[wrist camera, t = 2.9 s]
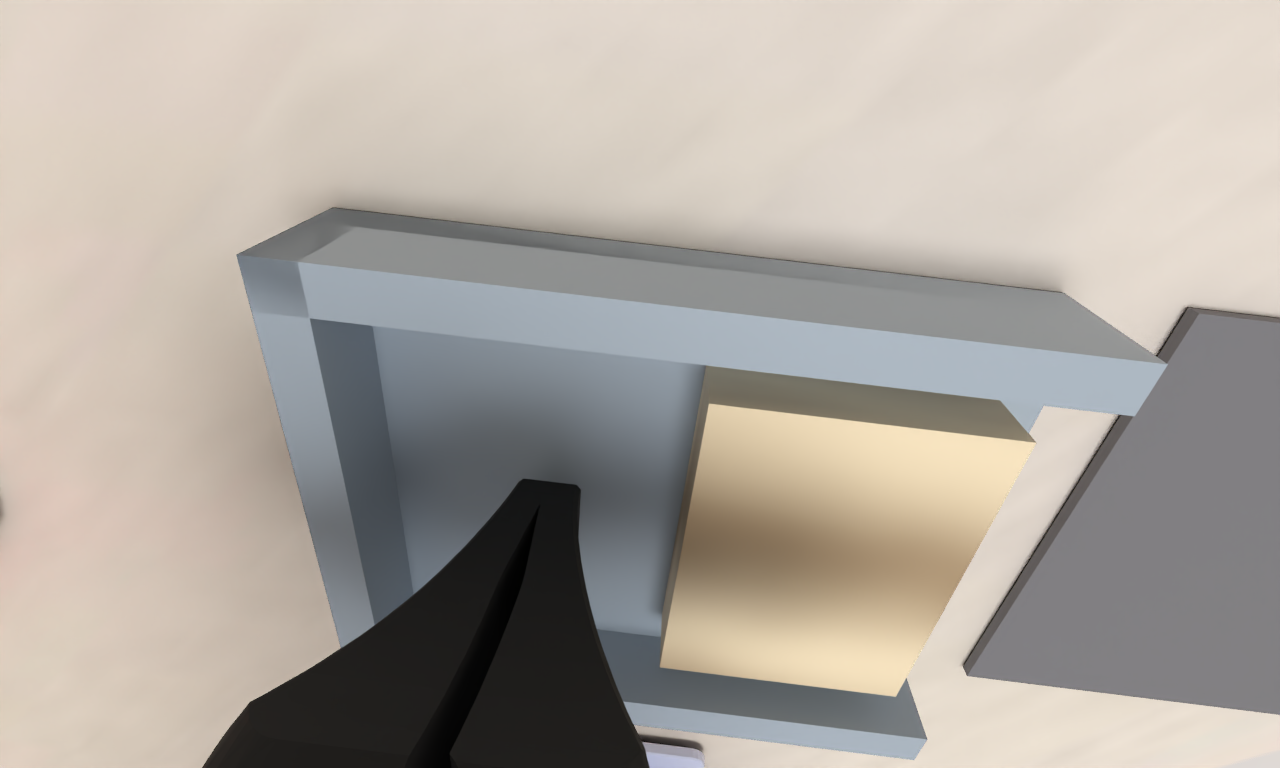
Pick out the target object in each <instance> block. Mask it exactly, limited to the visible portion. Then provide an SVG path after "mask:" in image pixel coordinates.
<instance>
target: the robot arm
mask: <svg viewBox="0 0 1280 768" xmlns="http://www.w3.org/2000/svg"><path fill="white" fill-rule="evenodd" d="M580 499H581V489H580V488H579V487H578V486H577V485H575V484H566V483H558V482H549V481H541V480H533V479H522V480H521V481H519V482H518V483H517V485H516V486H515V488H514V489H513V490H512V492H511V493H510V494H509V496H508V497H507V498H506V499H505V501H504V502H503V503H502V504H501V506H500V507H499V508H498V509H497V511H496V512H495V513H494V514H493V515H492V517H491V518H490V519H489V520H488V521H487V522H486V523H485V525H484V526H483V527H482V528H481V529H480V530H479V531H478V532H477V533H476V535H475V536H474V537H473V538H472V539H471V540H470V541H469V542H468V543H467V544H466V545H465V547H464V548H463V549H462V550H461V551H460V552H458V553H457V554H456V555H455V556H454V557H453V558H452V559H451V560H450V561H449V562H448V563H447V564H446V565H445V566H444V567H443V568H442V569H441V570H440V571H439V572H438V573H437V574H436V575H435V576H434V577H433V578H432V579H431V580H430V581H428V582H427V583H426V584H425V585H424V586H423V587H422V588H420V589H419V590H418V591H417V592H416V593H415V594H413V595H412V596H411V597H410V598H409V599H408V600H406V601H405V602H404V603H403V604H401V605H400V606H399V607H397V608H396V609H395V610H394V611H392V612H391V613H390V614H388V615H387V616H386V617H385V618H383V619H382V620H381V621H379V622H378V623H377V624H375V625H374V626H373V627H371V628H370V629H369V630H367V631H366V632H364V633H363V634H362V635H360V636H359V637H357V638H356V639H354V640H353V641H351V642H350V643H348V644H347V645H345V646H344V647H342V648H341V649H339V650H338V651H336V652H335V653H333V654H332V655H330V656H329V657H327V658H326V659H324V660H323V661H321V662H319V663H318V664H316V665H315V666H313V667H311V668H310V669H308V670H306V671H305V672H303V673H301V674H299V675H298V676H296V677H294V678H292V679H291V680H289V681H287V682H285V683H284V684H282V685H280V686H278V687H277V688H275V689H273V690H271V691H270V692H268V693H266V694H264V695H263V696H261V697H259V698H257V699H255V700H253V701H251V702H250V703H249V704H248V705H247V707H246V708H245V709H244V710H243V712H242V713H241V714H240V716H239V717H238V718H237V719H236V720H235V722H234V723H233V724H232V725H231V726H230V728H229V729H228V730H227V732H226V733H225V734H224V736H223V737H222V739H221V740H220V741H219V743H218V745H217V746H216V748H215V749H214V751H213V752H212V754H211V755H210V757H209V758H208V760H207V761H206V763H205V764H204V766H203V767H202V768H704V767H705V766H704V754H703V753H702V752H701V751H699V750H697V749H694V748H687V747H679V746H671V745H663V744H655V743H647V742H642V741H641V739H640V737H639V735H638V733H637V731H636V729H635V727H634V725H633V722H632V720H631V718H630V716H629V714H628V712H627V709H626V707H625V705H624V702H623V700H622V698H621V695H620V693H619V691H618V688H617V686H616V683H615V680H614V678H613V675H612V672H611V670H610V667H609V664H608V661H607V659H606V656H605V653H604V651H603V648H602V644H601V641H600V638H599V635H598V632H597V628H596V625H595V621H594V618H593V614H592V610H591V606H590V602H589V598H588V594H587V589H586V584H585V579H584V574H583V568H582V562H581V555H580V547H579V538H578V536H579V517H580Z"/></svg>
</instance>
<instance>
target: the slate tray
mask: <svg viewBox="0 0 1280 768" xmlns="http://www.w3.org/2000/svg"><path fill="white" fill-rule="evenodd" d="M237 259H238V262H239V266H240V270H241V274H242V278H243V281H244V285H245V289H246V293H247V296H248V300H249V304H250V308H251V311H252V315H253V319H254V323H255V326H256V330H257V334H258V338H259V341H260V345H261V349H262V353H263V356H264V360H265V364H266V368H267V371H268V375H269V379H270V383H271V386H272V390H273V394H274V398H275V401H276V405H277V409H278V413H279V417H280V420H281V424H282V428H283V432H284V435H285V439H286V443H287V447H288V450H289V454H290V458H291V462H292V465H293V469H294V473H295V477H296V480H297V484H298V488H299V492H300V495H301V499H302V503H303V507H304V510H305V514H306V518H307V522H308V525H309V529H310V533H311V537H312V541H313V544H314V548H315V552H316V556H317V559H318V563H319V567H320V571H321V574H322V578H323V582H324V586H325V589H326V593H327V597H328V601H329V604H330V608H331V612H332V616H333V619H334V623H335V627H336V631H337V634H338V638H339V642H340V646H341V648H342V647H344V646H345V645H347V644H348V643H350V642H351V641H353V640H354V639H356V638H357V637H359V636H360V635H362V634H363V633H364V632H366V631H367V630H369V629H370V628H371V627H373V626H374V625H375V624H377V623H378V622H379V621H381V620H382V619H383V618H385V617H386V616H387V615H388V614H390V613H391V612H392V611H394V610H395V609H396V608H397V607H399V606H400V605H401V604H403V603H404V602H405V601H406V600H408V599H409V598H410V597H411V596H412V595H413V594H415V593H416V592H417V591H418V590H419V589H420V588H422V587H423V586H424V585H425V584H426V583H427V582H428V581H430V580H431V579H432V578H433V577H434V576H435V575H436V574H437V573H438V572H439V571H440V570H441V569H442V568H443V567H444V566H445V565H446V564H447V563H448V562H449V561H450V560H451V559H452V558H453V557H454V556H455V555H456V554H457V553H458V552H460V551H461V550H462V549H463V548H464V547H465V545H466V544H467V543H468V542H469V541H470V540H471V539H472V538H473V537H474V536H475V535H476V533H477V532H478V531H479V530H480V529H481V528H482V527H483V526H484V525H485V523H486V522H487V521H488V520H489V519H490V518H491V517H492V515H493V514H494V513H495V512H496V511H497V509H498V508H499V507H500V506H501V504H502V503H503V502H504V501H505V499H506V498H507V497H508V496H509V494H510V493H511V492H512V490H513V489H514V488H515V486H516V485H517V483H518V482H519V481H521V480H522V479H533V480H541V481H549V482H558V483H566V484H575V485H577V486H578V487H579V488H580V489H581V499H580V517H579V536H578V538H579V547H580V555H581V562H582V568H583V574H584V579H585V584H586V589H587V594H588V598H589V602H590V606H591V610H592V614H593V618H594V621H595V625H596V628H597V632H598V635H599V638H600V641H601V644H602V648H603V651H604V653H605V656H606V659H607V661H608V664H609V667H610V670H611V672H612V675H613V678H614V680H615V683H616V686H617V688H618V691H619V693H620V695H621V698H622V700H623V702H624V705H625V707H626V709H627V712H628V714H629V716H630V718H631V720H632V722H633V725H639V726H647V727H655V728H663V729H671V730H679V731H687V732H695V733H703V734H711V735H719V736H727V737H735V738H743V739H751V740H759V741H767V742H775V743H782V744H790V745H798V746H806V747H814V748H822V749H830V750H838V751H846V752H854V753H862V754H870V755H878V756H886V757H894V758H902V759H910V760H914V759H915V758H916V756H917V755H918V753H919V751H920V750H921V748H922V747H923V745H924V744H925V742H926V741H927V737H926V734H925V732H924V729H923V726H922V723H921V720H920V717H919V714H918V711H917V708H916V705H915V702H914V699H913V696H912V693H911V690H910V687H909V684H908V681H907V678H906V679H905V681H904V683H903V685H902V687H901V688H900V690H899V692H898V694H897V696H896V697H894V696H886V695H878V694H870V693H862V692H853V691H845V690H837V689H829V688H821V687H813V686H805V685H797V684H789V683H781V682H773V681H765V680H757V679H749V678H741V677H733V676H725V675H717V674H709V673H701V672H693V671H685V670H677V669H669V668H661V667H660V647H661V625H662V611H663V605H664V600H665V594H666V588H667V583H668V577H669V572H670V566H671V560H672V555H673V549H674V543H675V538H676V532H677V526H678V521H679V515H680V510H681V504H682V498H683V493H684V487H685V481H686V476H687V470H688V464H689V459H690V453H691V448H692V442H693V436H694V431H695V425H696V419H697V414H698V408H699V402H700V397H701V391H702V385H703V380H704V374H705V369H706V365H707V366H715V367H723V368H732V369H740V370H749V371H757V372H765V373H774V374H782V375H791V376H799V377H808V378H816V379H824V380H833V381H841V382H850V383H858V384H866V385H875V386H883V387H892V388H900V389H908V390H917V391H925V392H934V393H942V394H951V395H959V396H967V397H976V398H984V399H993V400H1000V401H1001V402H1002V403H1003V404H1004V405H1005V407H1006V408H1007V409H1008V410H1009V411H1010V412H1011V414H1012V415H1013V416H1014V417H1015V418H1016V419H1017V421H1018V422H1019V423H1020V424H1021V425H1022V427H1023V428H1024V429H1025V430H1026V431H1027V432H1028V434H1029V432H1030V430H1031V428H1032V426H1033V425H1034V423H1035V421H1036V419H1037V417H1038V415H1039V413H1040V412H1041V410H1042V408H1043V406H1052V407H1060V408H1068V409H1077V410H1085V411H1094V412H1102V413H1110V414H1119V415H1127V416H1135V415H1136V414H1137V412H1138V411H1139V409H1140V407H1141V406H1142V404H1143V403H1144V401H1145V400H1146V398H1147V397H1148V395H1149V393H1150V392H1151V390H1152V389H1153V387H1154V386H1155V384H1156V382H1157V381H1158V379H1159V378H1160V376H1161V375H1162V373H1163V372H1164V370H1165V368H1166V367H1167V365H1168V364H1167V363H1165V362H1164V361H1162V360H1161V359H1159V358H1158V357H1156V356H1155V355H1154V354H1152V353H1151V352H1149V351H1148V350H1146V349H1145V348H1143V347H1142V346H1140V345H1139V344H1138V343H1136V342H1135V341H1133V340H1132V339H1130V338H1129V337H1127V336H1126V335H1124V334H1123V333H1122V332H1120V331H1119V330H1117V329H1116V328H1114V327H1113V326H1111V325H1110V324H1108V323H1107V322H1106V321H1104V320H1103V319H1101V318H1100V317H1098V316H1097V315H1095V314H1094V313H1092V312H1091V311H1090V310H1088V309H1087V308H1085V307H1084V306H1082V305H1081V304H1079V303H1078V302H1076V301H1075V300H1074V299H1072V298H1071V297H1069V296H1068V295H1066V294H1065V293H1059V292H1050V291H1042V290H1033V289H1025V288H1016V287H1007V286H999V285H990V284H982V283H973V282H965V281H956V280H948V279H939V278H930V277H922V276H913V275H905V274H896V273H888V272H879V271H870V270H862V269H853V268H845V267H836V266H828V265H819V264H811V263H802V262H793V261H785V260H776V259H768V258H759V257H751V256H742V255H733V254H725V253H716V252H708V251H699V250H691V249H682V248H674V247H665V246H656V245H648V244H639V243H631V242H622V241H614V240H605V239H596V238H588V237H579V236H571V235H562V234H554V233H545V232H537V231H528V230H519V229H511V228H502V227H494V226H485V225H477V224H468V223H459V222H451V221H442V220H434V219H425V218H417V217H408V216H400V215H391V214H382V213H374V212H365V211H357V210H348V209H340V208H331V209H329V210H327V211H325V212H323V213H321V214H319V215H317V216H315V217H313V218H311V219H309V220H306V221H304V222H302V223H300V224H298V225H296V226H294V227H292V228H290V229H288V230H286V231H284V232H282V233H280V234H278V235H276V236H274V237H272V238H270V239H268V240H266V241H263V242H261V243H259V244H257V245H255V246H253V247H251V248H249V249H247V250H245V251H243V252H241V253H239V254H237Z"/></svg>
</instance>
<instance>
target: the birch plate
mask: <svg viewBox="0 0 1280 768" xmlns="http://www.w3.org/2000/svg"><path fill="white" fill-rule="evenodd" d="M1035 444H1036V442H1035V441H1034V439H1033V438H1032V437H1031V436H1030V435H1029V434H1028V432H1027V431H1026V430H1025V429H1024V428H1023V427H1022V425H1021V424H1020V423H1019V422H1018V421H1017V419H1016V418H1015V417H1014V416H1013V415H1012V414H1011V412H1010V411H1009V410H1008V409H1007V408H1006V407H1005V405H1004V404H1003V403H1002V402H1001V401H1000V400H993V399H984V398H976V397H967V396H959V395H951V394H942V393H934V392H925V391H917V390H908V389H900V388H892V387H883V386H875V385H866V384H858V383H850V382H841V381H833V380H824V379H816V378H808V377H799V376H791V375H782V374H774V373H765V372H757V371H749V370H740V369H732V368H723V367H715V366H707V365H706V369H705V374H704V380H703V385H702V391H701V397H700V402H699V408H698V414H697V419H696V425H695V431H694V436H693V442H692V448H691V453H690V459H689V464H688V470H687V476H686V481H685V487H684V493H683V498H682V504H681V510H680V515H679V521H678V526H677V532H676V538H675V543H674V549H673V555H672V560H671V566H670V572H669V577H668V583H667V588H666V594H665V600H664V605H663V611H662V625H661V647H660V667H661V668H669V669H677V670H685V671H693V672H701V673H709V674H717V675H725V676H733V677H741V678H749V679H757V680H765V681H773V682H781V683H789V684H797V685H805V686H813V687H821V688H829V689H837V690H845V691H853V692H862V693H870V694H878V695H886V696H894V697H896V696H897V694H898V692H899V690H900V688H901V687H902V685H903V683H904V681H905V679H906V678H907V676H908V674H909V672H910V670H911V669H912V667H913V665H914V663H915V661H916V660H917V658H918V656H919V654H920V652H921V650H922V649H923V647H924V645H925V643H926V641H927V640H928V638H929V636H930V634H931V632H932V631H933V629H934V627H935V625H936V623H937V622H938V620H939V618H940V616H941V614H942V613H943V611H944V609H945V607H946V605H947V603H948V602H949V600H950V598H951V596H952V594H953V593H954V591H955V589H956V587H957V585H958V584H959V582H960V580H961V578H962V576H963V575H964V573H965V571H966V569H967V567H968V566H969V564H970V562H971V560H972V558H973V557H974V555H975V553H976V551H977V549H978V547H979V546H980V544H981V542H982V540H983V538H984V537H985V535H986V533H987V531H988V529H989V528H990V526H991V524H992V522H993V520H994V519H995V517H996V515H997V513H998V511H999V510H1000V508H1001V506H1002V504H1003V502H1004V500H1005V499H1006V497H1007V495H1008V493H1009V491H1010V490H1011V488H1012V486H1013V484H1014V482H1015V481H1016V479H1017V477H1018V475H1019V473H1020V472H1021V470H1022V468H1023V466H1024V464H1025V463H1026V461H1027V459H1028V457H1029V455H1030V453H1031V452H1032V450H1033V448H1034V446H1035Z"/></svg>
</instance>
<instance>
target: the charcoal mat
mask: <svg viewBox="0 0 1280 768" xmlns="http://www.w3.org/2000/svg"><path fill="white" fill-rule="evenodd" d="M1158 358H1159V359H1161V360H1162V361H1164V362H1165V363H1167V364H1168V365H1167V367H1166V368H1165V370H1164V372H1163V373H1162V375H1161V376H1160V378H1159V379H1158V381H1157V382H1156V384H1155V386H1154V387H1153V389H1152V390H1151V392H1150V393H1149V395H1148V397H1147V398H1146V400H1145V401H1144V403H1143V404H1142V406H1141V407H1140V409H1139V411H1138V412H1137V414H1136V415H1135V416H1127V415H1121V416H1120V417H1119V419H1118V420H1117V422H1116V424H1115V425H1114V427H1113V428H1112V430H1111V432H1110V433H1109V435H1108V436H1107V438H1106V440H1105V441H1104V443H1103V444H1102V446H1101V448H1100V449H1099V451H1098V452H1097V454H1096V455H1095V457H1094V459H1093V460H1092V462H1091V463H1090V465H1089V467H1088V468H1087V470H1086V471H1085V473H1084V475H1083V476H1082V478H1081V479H1080V481H1079V483H1078V484H1077V486H1076V487H1075V489H1074V491H1073V492H1072V494H1071V495H1070V497H1069V499H1068V500H1067V502H1066V503H1065V505H1064V507H1063V508H1062V510H1061V511H1060V513H1059V515H1058V516H1057V518H1056V519H1055V521H1054V523H1053V524H1052V526H1051V527H1050V529H1049V530H1048V532H1047V534H1046V535H1045V537H1044V538H1043V540H1042V542H1041V543H1040V545H1039V546H1038V548H1037V550H1036V551H1035V553H1034V554H1033V556H1032V558H1031V559H1030V561H1029V562H1028V564H1027V566H1026V567H1025V569H1024V570H1023V572H1022V574H1021V575H1020V577H1019V578H1018V580H1017V582H1016V583H1015V585H1014V586H1013V588H1012V590H1011V591H1010V593H1009V594H1008V596H1007V598H1006V599H1005V601H1004V602H1003V604H1002V605H1001V607H1000V609H999V610H998V612H997V613H996V615H995V617H994V618H993V620H992V621H991V623H990V625H989V626H988V628H987V629H986V631H985V633H984V634H983V636H982V637H981V639H980V641H979V642H978V644H977V645H976V647H975V649H974V650H973V652H972V653H971V655H970V657H969V658H968V660H967V661H966V663H965V665H964V666H963V668H964V670H965V672H966V675H967V676H972V677H980V678H988V679H996V680H1004V681H1012V682H1020V683H1028V684H1036V685H1044V686H1052V687H1060V688H1068V689H1076V690H1085V691H1093V692H1101V693H1109V694H1117V695H1125V696H1133V697H1141V698H1149V699H1157V700H1165V701H1173V702H1181V703H1189V704H1198V705H1206V706H1214V707H1222V708H1230V709H1238V710H1246V711H1254V712H1262V713H1270V714H1278V715H1280V318H1273V317H1264V316H1256V315H1247V314H1239V313H1230V312H1222V311H1213V310H1204V309H1196V308H1188V309H1187V310H1186V312H1185V313H1184V315H1183V317H1182V318H1181V320H1180V321H1179V323H1178V325H1177V326H1176V328H1175V329H1174V331H1173V333H1172V334H1171V336H1170V337H1169V339H1168V341H1167V342H1166V344H1165V345H1164V347H1163V349H1162V350H1161V352H1160V353H1159V355H1158Z"/></svg>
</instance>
